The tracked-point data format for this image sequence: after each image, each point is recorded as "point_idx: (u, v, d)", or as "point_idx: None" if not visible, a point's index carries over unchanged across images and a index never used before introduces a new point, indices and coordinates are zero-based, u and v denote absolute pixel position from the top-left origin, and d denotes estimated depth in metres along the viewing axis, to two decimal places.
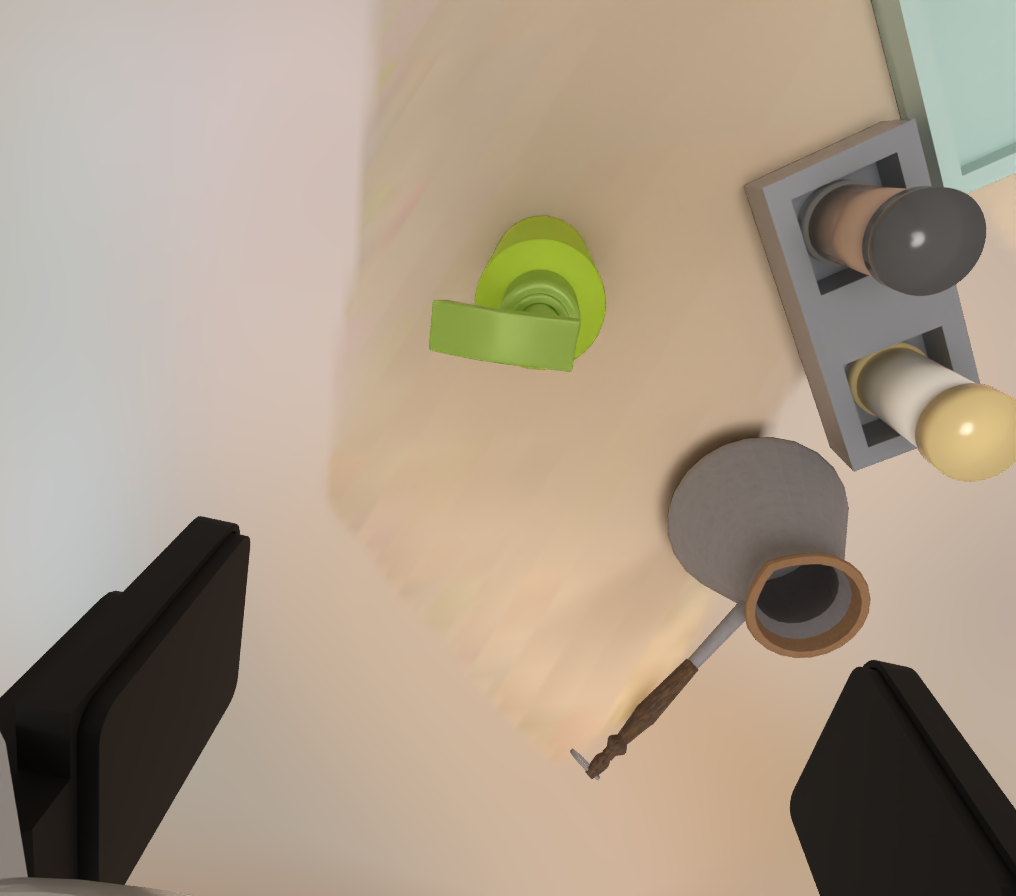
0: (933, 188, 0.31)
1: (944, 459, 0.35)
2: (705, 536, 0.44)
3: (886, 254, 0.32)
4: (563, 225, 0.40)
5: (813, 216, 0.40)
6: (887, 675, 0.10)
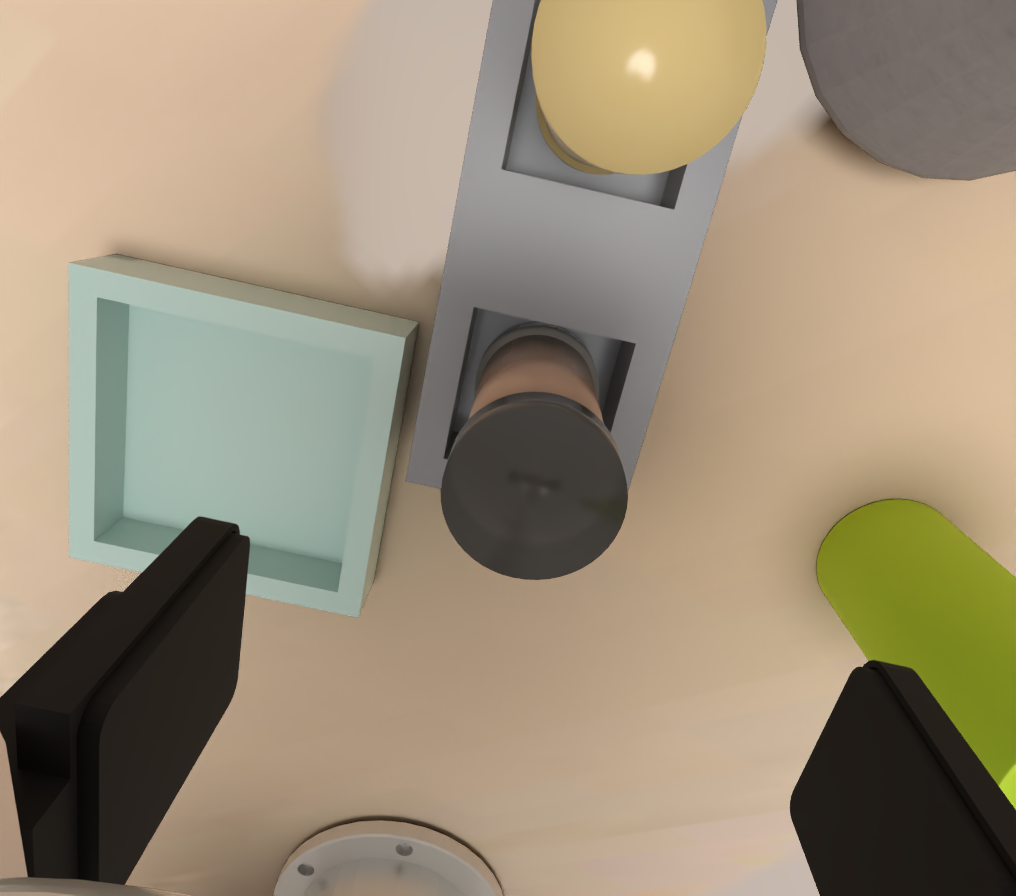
0: (489, 565, 0.19)
1: (740, 45, 0.14)
2: None
3: (602, 525, 0.18)
4: (853, 636, 0.29)
5: None
6: (887, 675, 0.10)
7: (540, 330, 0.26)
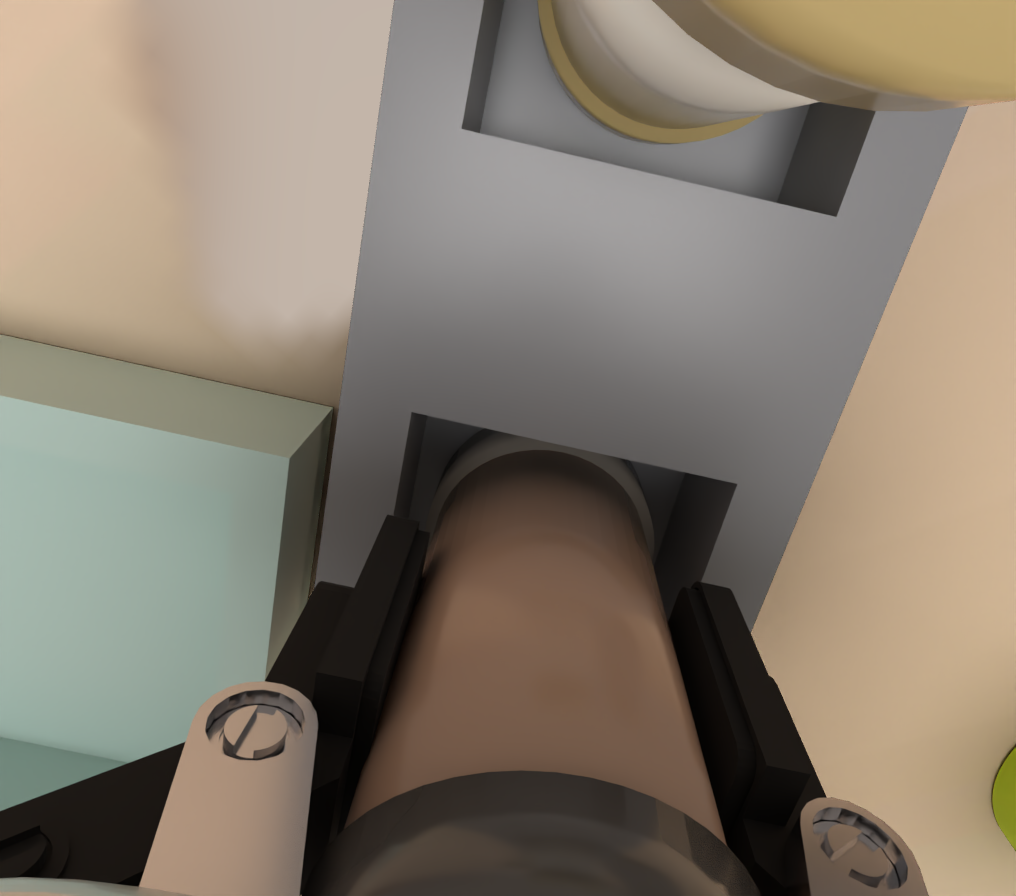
0: None
1: None
2: None
3: None
4: None
5: None
6: (704, 592, 0.11)
7: (545, 442, 0.14)
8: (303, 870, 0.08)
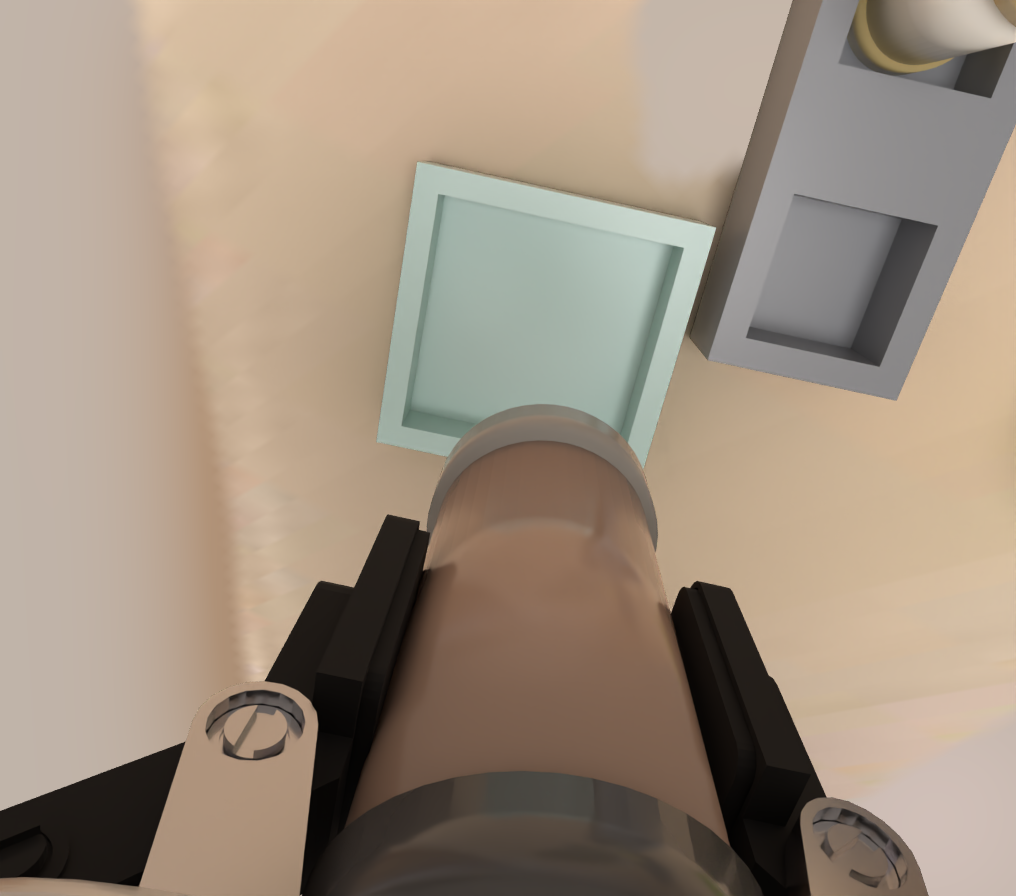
0: None
1: None
2: None
3: None
4: None
5: None
6: (703, 592, 0.11)
7: (548, 432, 0.14)
8: (303, 870, 0.08)
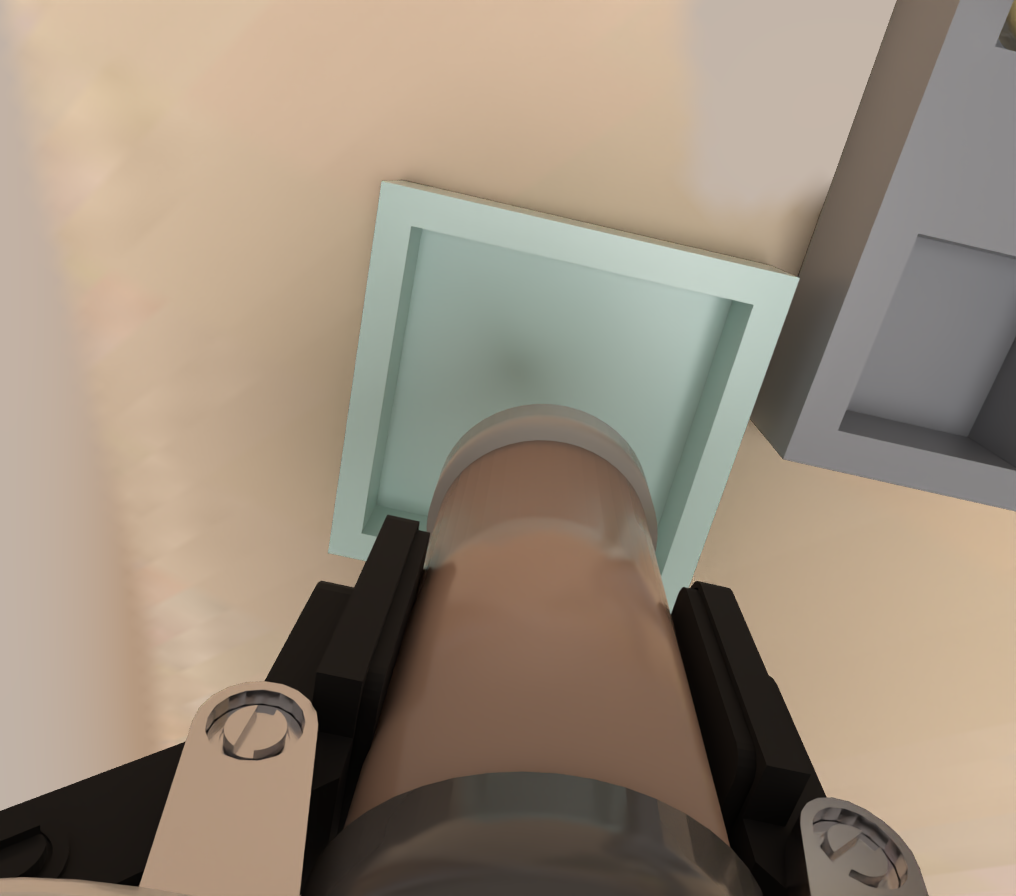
0: None
1: None
2: None
3: None
4: None
5: None
6: (703, 592, 0.11)
7: (548, 432, 0.14)
8: (303, 870, 0.08)
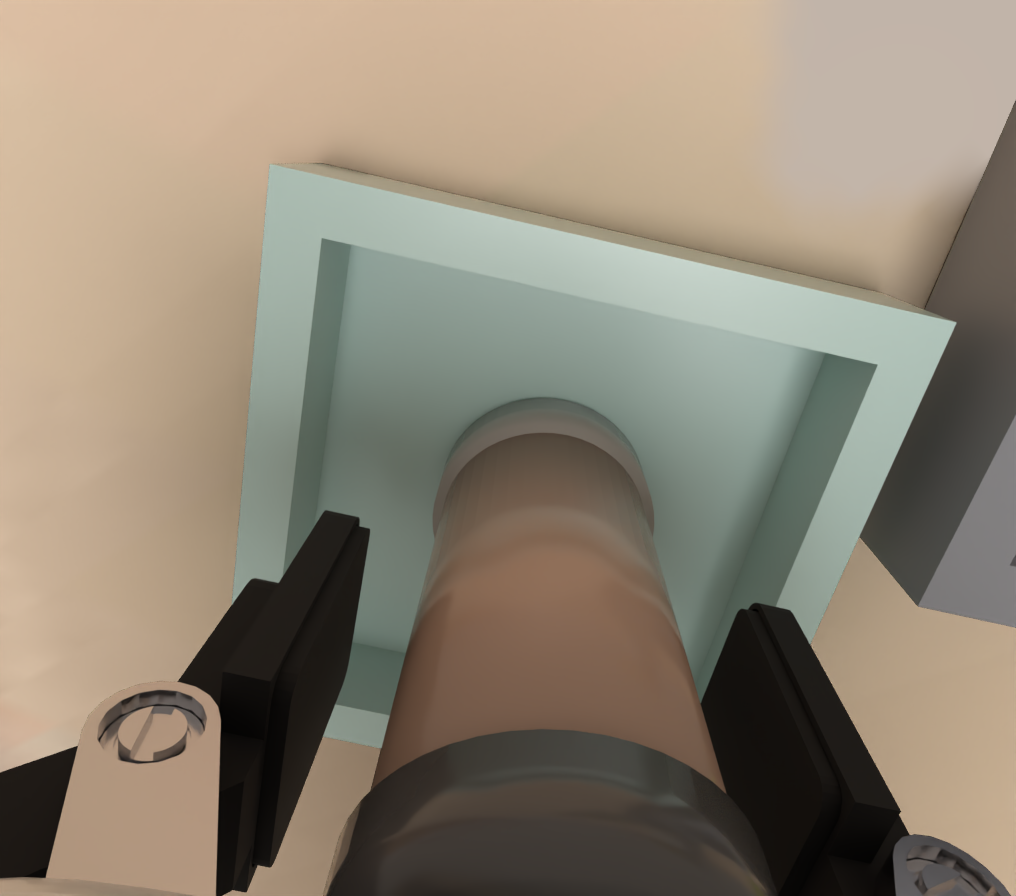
0: None
1: None
2: None
3: None
4: None
5: None
6: (764, 615, 0.11)
7: (550, 425, 0.14)
8: None
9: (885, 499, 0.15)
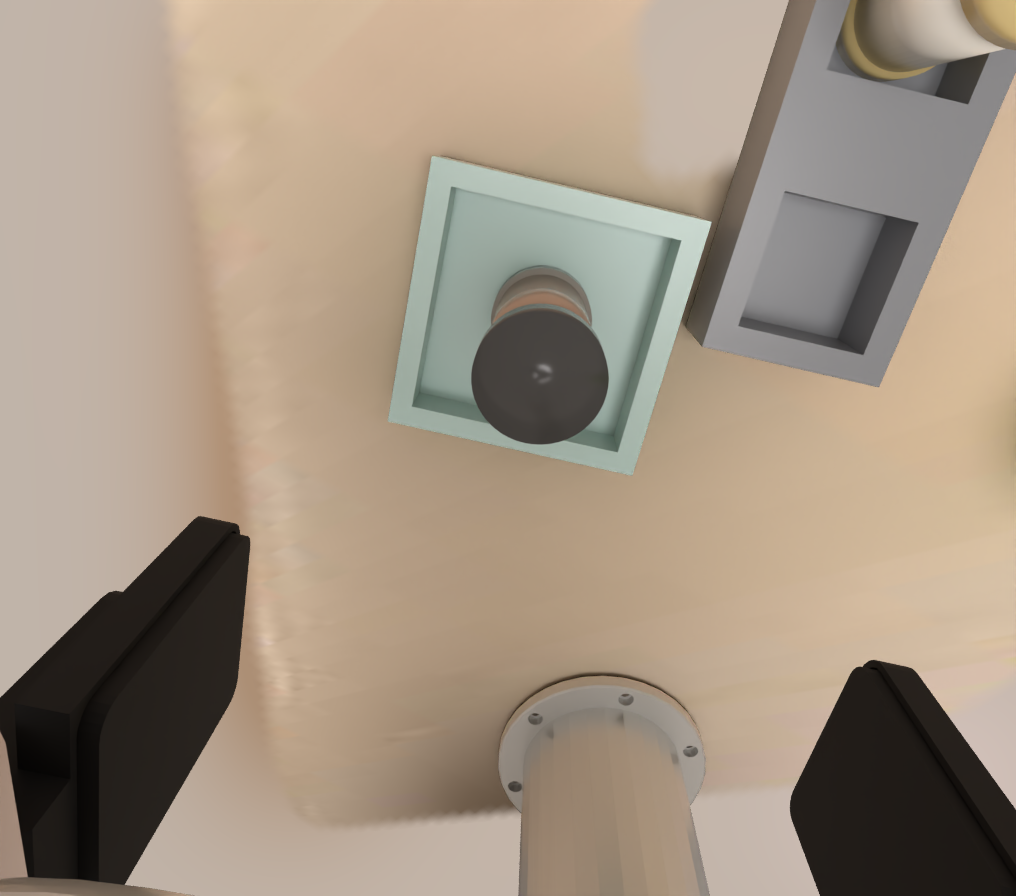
0: (506, 434, 0.25)
1: None
2: None
3: (590, 401, 0.24)
4: None
5: None
6: (887, 675, 0.10)
7: (544, 270, 0.32)
8: None
9: (699, 311, 0.33)
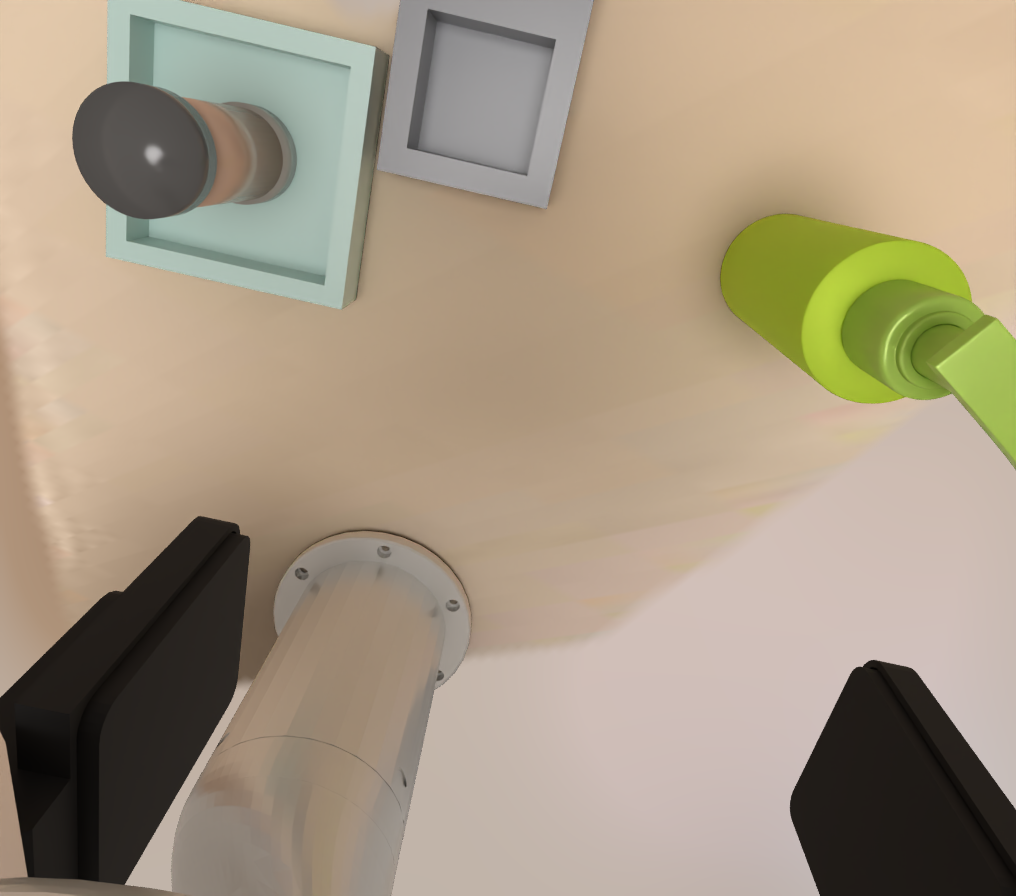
0: (118, 209, 0.27)
1: None
2: None
3: (185, 173, 0.26)
4: (741, 312, 0.35)
5: (268, 190, 0.35)
6: (887, 675, 0.10)
7: (235, 102, 0.34)
8: None
9: None
